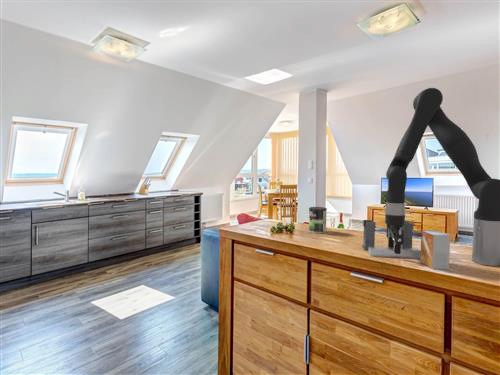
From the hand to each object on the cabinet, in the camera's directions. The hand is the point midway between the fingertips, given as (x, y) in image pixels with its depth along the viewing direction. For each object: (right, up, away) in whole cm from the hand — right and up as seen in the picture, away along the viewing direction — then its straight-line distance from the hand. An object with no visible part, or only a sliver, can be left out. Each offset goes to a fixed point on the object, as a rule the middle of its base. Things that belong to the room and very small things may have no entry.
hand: (394, 250), depth 126 cm
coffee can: (-21, +1, +50) cm, 54 cm away
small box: (+9, -3, -13) cm, 16 cm away
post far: (-6, -1, +11) cm, 13 cm away
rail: (0, -3, 0) cm, 3 cm away
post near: (+9, -2, +9) cm, 13 cm away
